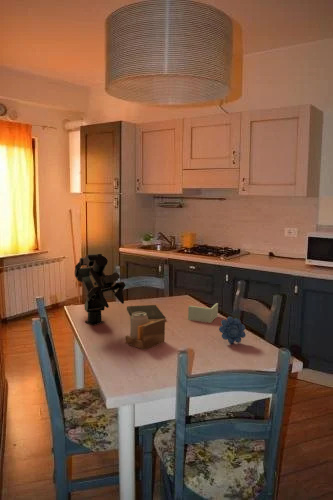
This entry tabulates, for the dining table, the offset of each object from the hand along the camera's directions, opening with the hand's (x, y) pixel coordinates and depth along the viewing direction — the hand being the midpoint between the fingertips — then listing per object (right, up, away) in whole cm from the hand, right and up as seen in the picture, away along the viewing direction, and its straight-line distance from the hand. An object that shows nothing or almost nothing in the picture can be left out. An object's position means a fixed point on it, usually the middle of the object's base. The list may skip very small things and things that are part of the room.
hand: (115, 305), depth 184 cm
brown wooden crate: (+13, -14, -9) cm, 22 cm away
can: (+11, -14, -7) cm, 19 cm away
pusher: (+14, -14, -10) cm, 22 cm away
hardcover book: (+12, -10, +29) cm, 32 cm away
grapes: (+51, -15, -10) cm, 54 cm away
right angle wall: (+41, -11, +25) cm, 50 cm away
